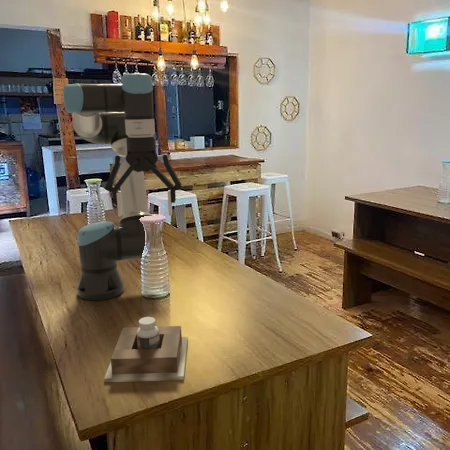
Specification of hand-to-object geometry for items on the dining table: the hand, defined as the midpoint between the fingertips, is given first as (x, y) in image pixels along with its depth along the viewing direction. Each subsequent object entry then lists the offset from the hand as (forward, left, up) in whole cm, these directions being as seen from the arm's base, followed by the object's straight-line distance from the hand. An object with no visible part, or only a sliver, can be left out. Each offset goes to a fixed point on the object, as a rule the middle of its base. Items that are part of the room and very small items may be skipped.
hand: (145, 215), depth 124 cm
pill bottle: (+2, -21, -31) cm, 37 cm away
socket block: (+2, -21, -32) cm, 38 cm away
